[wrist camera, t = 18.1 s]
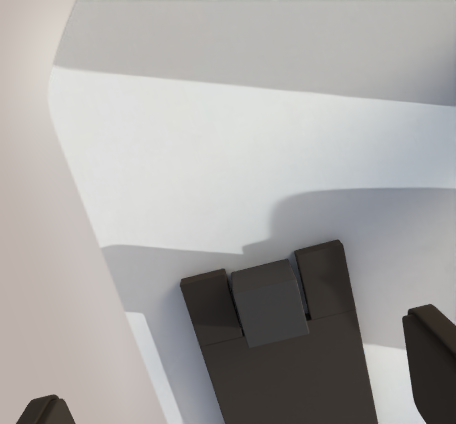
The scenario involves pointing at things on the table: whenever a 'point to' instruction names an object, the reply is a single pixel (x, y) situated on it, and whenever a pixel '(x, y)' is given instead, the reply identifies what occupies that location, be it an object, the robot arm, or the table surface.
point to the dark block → (269, 303)
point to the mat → (287, 350)
